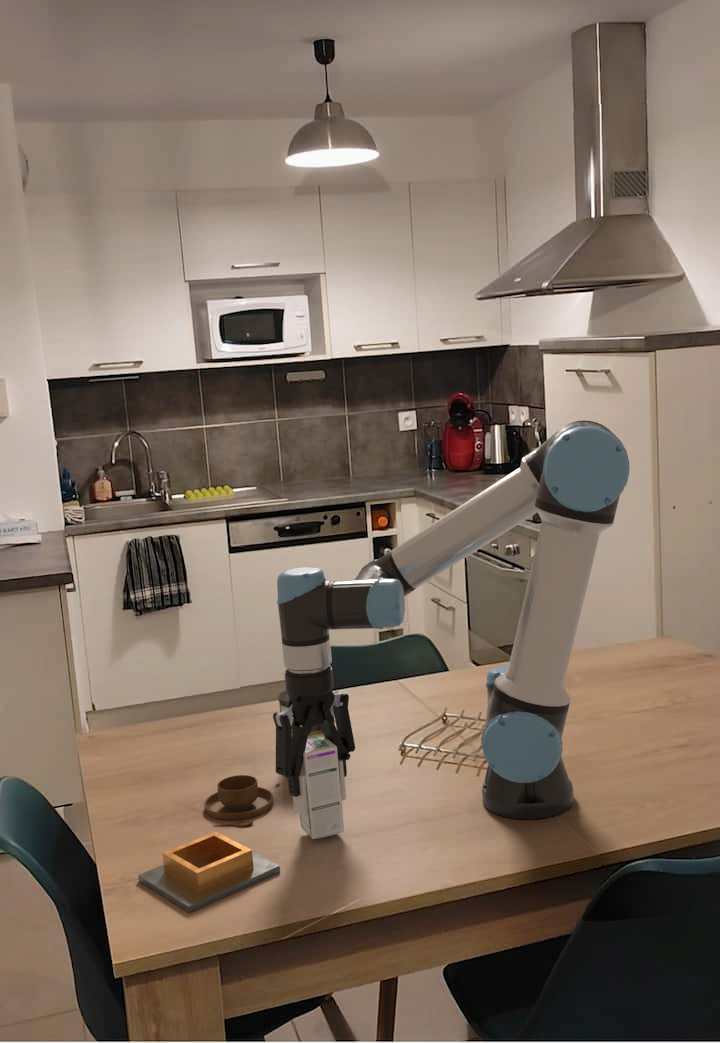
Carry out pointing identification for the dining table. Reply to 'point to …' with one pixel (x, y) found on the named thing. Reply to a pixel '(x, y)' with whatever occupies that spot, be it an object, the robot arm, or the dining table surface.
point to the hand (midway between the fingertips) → (320, 805)
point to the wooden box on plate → (206, 871)
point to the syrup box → (322, 789)
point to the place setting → (238, 799)
